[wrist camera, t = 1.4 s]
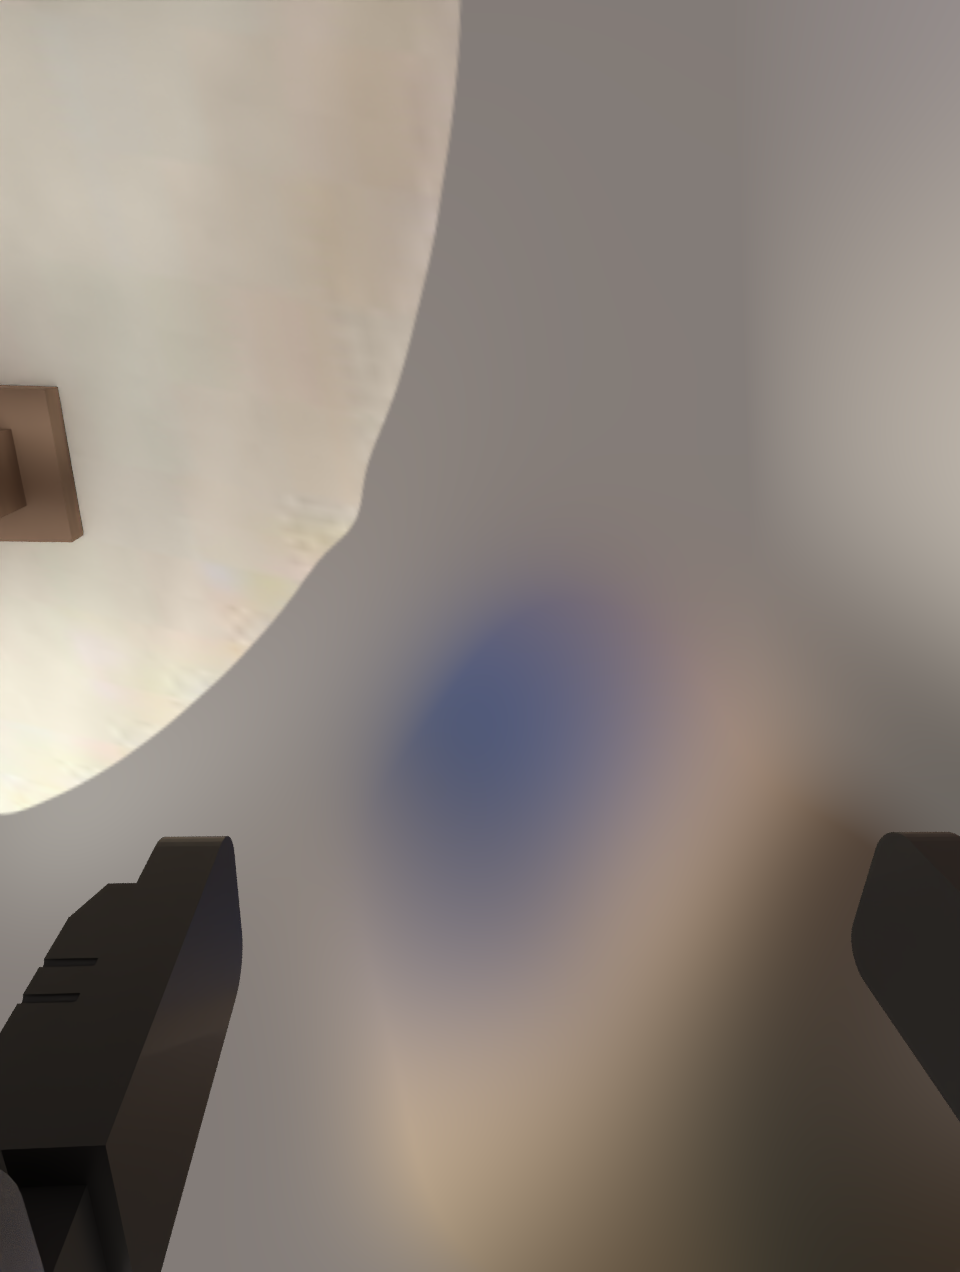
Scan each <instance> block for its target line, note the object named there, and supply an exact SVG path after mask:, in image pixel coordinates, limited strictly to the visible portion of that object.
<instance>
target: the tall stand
mask: <svg viewBox="0 0 960 1272" xmlns="http://www.w3.org/2000/svg"><path fill="white" fill-rule="evenodd" d="M82 535H83V529H82V523H81V518H80V512H79V506H78V501H77V495H76V489H75V484H74V478H73V472H72V467H71V461H70V455H69V450H68V444H67V438H66V433H65V427H64V421H63V416H62V410H61V404H60V399H59V393H58V387H43V386H10V385H0V541H26V542H73V541H75V540H76V539H78V538H79V537H81V536H82Z"/></svg>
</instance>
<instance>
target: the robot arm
mask: <svg viewBox="0 0 960 1272" xmlns="http://www.w3.org/2000/svg"><path fill="white" fill-rule="evenodd" d="M851 942H852V951H853V956H854V959H855V963H856V966H857V968H858V971H859V973H860V975H861V977H862V979H863V980H864V982H865V983H866V985H867V986H868V988H869V989H870V991H871V992H872V994H873V995H874V997H875V998H876V1000H877V1001H878V1002H879V1004H880V1005H881V1007H882V1008H883V1010H884V1011H885V1013H886V1014H887V1016H888V1017H889V1019H890V1020H891V1022H892V1023H893V1024H894V1026H895V1027H896V1029H897V1030H898V1032H899V1033H900V1035H901V1036H902V1038H903V1039H904V1041H905V1042H906V1043H907V1045H908V1046H909V1048H910V1049H911V1051H912V1052H913V1054H914V1055H915V1057H916V1058H917V1060H918V1061H919V1062H920V1064H921V1065H922V1067H923V1068H924V1070H925V1071H926V1073H927V1074H928V1076H929V1077H930V1079H931V1080H932V1081H933V1083H934V1085H935V1086H936V1087H937V1089H938V1090H939V1092H940V1093H941V1095H942V1096H943V1098H944V1099H945V1101H946V1102H947V1104H948V1105H949V1106H950V1108H951V1109H952V1111H953V1112H954V1114H955V1115H956V1117H957V1118H958V1120H959V1121H960V836H958V835H956V834H954V833H951V832H891V833H887V834H886V835H884V836H883V837H882V838H881V839H880V840H879V842H878V844H877V847H876V849H875V853H874V856H873V859H872V862H871V866H870V869H869V873H868V876H867V879H866V882H865V886H864V889H863V893H862V896H861V899H860V902H859V906H858V909H857V912H856V916H855V919H854V922H853V927H852V934H851ZM241 965H242V928H241V918H240V908H239V897H238V887H237V876H236V865H235V854H234V847H233V843H232V840H231V838H230V837H229V836H207V837H206V836H202V837H201V836H198V837H197V836H196V837H163V838H161V839H160V840H159V841H158V843H157V844H156V846H155V848H154V850H153V852H152V854H151V856H150V858H149V860H148V862H147V864H146V865H145V868H144V869H143V872H142V873H141V875H140V877H139V879H138V881H137V883H116V884H107V885H106V886H105V887H104V888H103V889H101V890H100V891H99V892H98V893H97V894H96V895H94V896H93V897H92V898H91V899H90V900H89V901H88V902H86V903H85V904H84V905H83V906H82V907H81V908H79V909H78V910H77V911H76V912H75V913H74V914H72V915H71V916H70V917H69V918H68V920H67V921H66V923H65V925H64V927H63V928H62V930H61V931H60V934H59V935H58V937H57V938H56V940H55V942H54V943H53V945H52V947H51V948H50V950H49V952H48V953H47V955H46V957H45V958H44V965H43V967H39V968H38V970H37V972H36V974H35V975H34V977H33V979H32V980H31V982H30V984H29V985H28V987H27V989H26V991H25V992H24V994H23V1001H22V1003H21V1004H17V1006H16V1007H15V1009H14V1011H13V1012H12V1014H11V1016H10V1017H9V1019H8V1021H7V1022H6V1024H5V1026H4V1028H3V1029H2V1031H1V1033H0V1272H161V1269H162V1266H163V1262H164V1258H165V1255H166V1251H167V1248H168V1244H169V1240H170V1237H171V1233H172V1229H173V1226H174V1222H175V1218H176V1215H177V1211H178V1207H179V1204H180V1200H181V1196H182V1192H183V1189H184V1186H185V1182H186V1178H187V1175H188V1171H189V1167H190V1163H191V1160H192V1156H193V1153H194V1149H195V1145H196V1142H197V1138H198V1134H199V1130H200V1127H201V1123H202V1120H203V1116H204V1112H205V1109H206V1105H207V1101H208V1098H209V1094H210V1090H211V1087H212V1083H213V1079H214V1076H215V1072H216V1068H217V1065H218V1061H219V1058H220V1054H221V1050H222V1047H223V1043H224V1039H225V1036H226V1032H227V1028H228V1025H229V1021H230V1017H231V1013H232V1010H233V1006H234V1003H235V999H236V995H237V991H238V986H239V980H240V973H241Z"/></svg>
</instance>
